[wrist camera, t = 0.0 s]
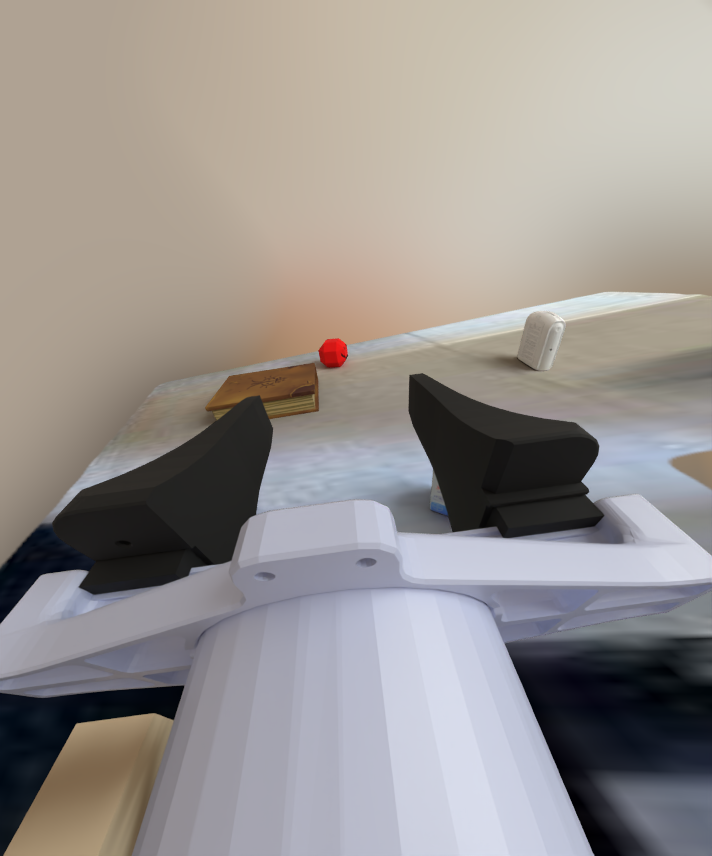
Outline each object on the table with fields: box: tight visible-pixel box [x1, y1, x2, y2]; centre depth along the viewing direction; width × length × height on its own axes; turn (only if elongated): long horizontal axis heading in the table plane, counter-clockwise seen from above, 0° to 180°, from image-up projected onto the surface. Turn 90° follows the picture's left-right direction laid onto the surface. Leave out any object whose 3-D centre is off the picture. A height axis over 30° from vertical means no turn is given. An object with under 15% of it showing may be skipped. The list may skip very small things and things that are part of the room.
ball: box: [319, 339, 348, 368], centre depth 79 cm, size 8×8×8 cm
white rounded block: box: [517, 311, 566, 371], centre depth 62 cm, size 10×4×12 cm, turn 0°
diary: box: [205, 363, 319, 420], centre depth 63 cm, size 23×19×6 cm
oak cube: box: [4, 713, 174, 856], centre depth 16 cm, size 5×5×5 cm
